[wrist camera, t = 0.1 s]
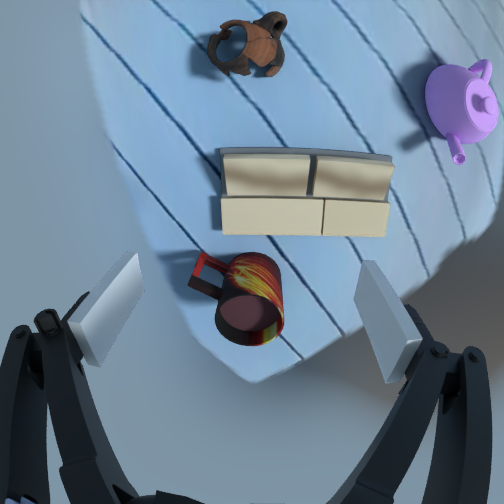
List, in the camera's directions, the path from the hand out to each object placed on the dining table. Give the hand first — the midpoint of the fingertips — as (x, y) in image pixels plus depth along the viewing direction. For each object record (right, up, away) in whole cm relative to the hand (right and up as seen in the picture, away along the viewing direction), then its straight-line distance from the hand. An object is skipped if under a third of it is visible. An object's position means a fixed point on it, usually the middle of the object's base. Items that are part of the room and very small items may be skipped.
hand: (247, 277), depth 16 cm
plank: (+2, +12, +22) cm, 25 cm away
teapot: (+34, +26, +17) cm, 46 cm away
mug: (-2, -3, +33) cm, 33 cm away
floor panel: (+9, +11, +25) cm, 29 cm away
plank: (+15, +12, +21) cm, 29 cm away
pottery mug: (+1, +31, +16) cm, 35 cm away
